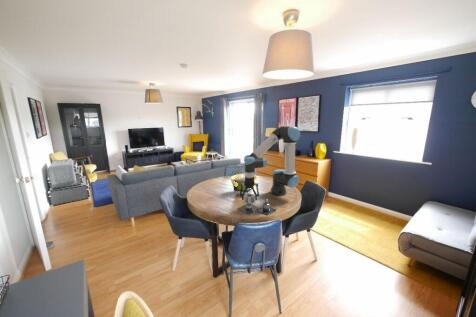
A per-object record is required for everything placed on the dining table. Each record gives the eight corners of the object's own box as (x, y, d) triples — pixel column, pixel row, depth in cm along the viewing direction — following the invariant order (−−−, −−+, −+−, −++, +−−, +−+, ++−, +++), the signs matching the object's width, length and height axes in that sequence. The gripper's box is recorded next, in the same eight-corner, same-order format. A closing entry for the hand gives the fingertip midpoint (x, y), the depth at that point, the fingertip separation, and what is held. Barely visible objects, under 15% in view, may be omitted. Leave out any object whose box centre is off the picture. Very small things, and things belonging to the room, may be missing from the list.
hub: (249, 203, 171) (249, 193, 169) (261, 209, 161) (261, 197, 159) (237, 208, 162) (237, 197, 160) (249, 214, 152) (249, 203, 150)
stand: (265, 205, 167) (265, 194, 165) (277, 210, 158) (277, 199, 156) (255, 210, 159) (255, 198, 157) (267, 215, 150) (267, 203, 148)
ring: (244, 199, 164) (244, 193, 163) (254, 199, 164) (254, 193, 163) (244, 203, 156) (244, 197, 155) (254, 203, 156) (254, 197, 155)
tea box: (251, 192, 197) (251, 178, 194) (247, 196, 188) (247, 181, 185) (237, 190, 203) (237, 176, 200) (233, 193, 194) (233, 179, 191)
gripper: (235, 178, 153) (236, 205, 157) (263, 178, 151) (262, 206, 156) (236, 175, 160) (236, 201, 165) (262, 175, 159) (262, 202, 163)
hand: (249, 203), depth 160 cm, fingers closed on ring, 8 cm apart
